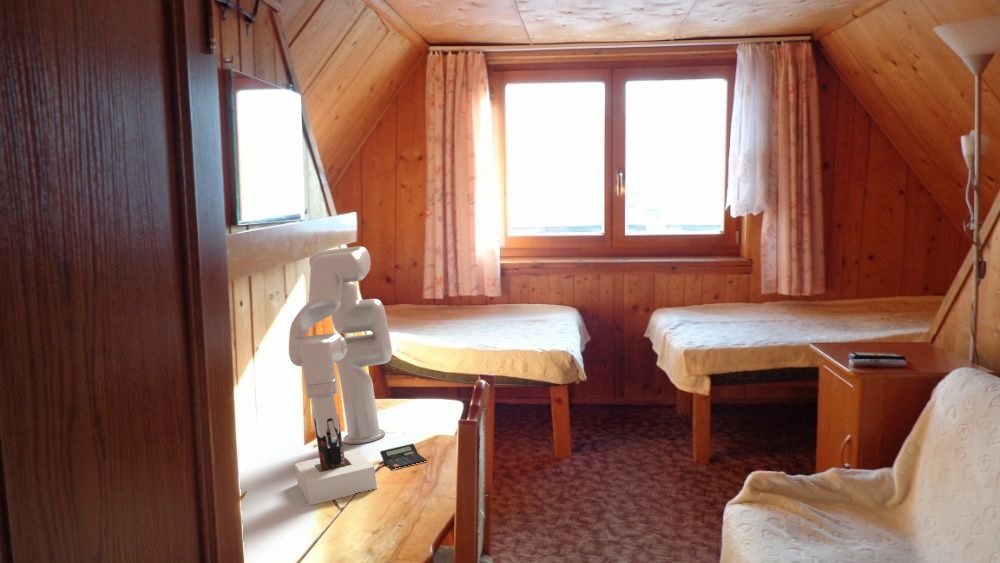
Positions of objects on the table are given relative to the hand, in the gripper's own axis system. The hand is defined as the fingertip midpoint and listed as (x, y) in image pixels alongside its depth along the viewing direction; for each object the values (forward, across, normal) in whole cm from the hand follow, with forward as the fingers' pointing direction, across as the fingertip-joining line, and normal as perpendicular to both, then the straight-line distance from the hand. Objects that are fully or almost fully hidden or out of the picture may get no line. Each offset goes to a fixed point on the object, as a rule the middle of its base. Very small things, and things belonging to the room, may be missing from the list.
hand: (332, 459), depth 193 cm
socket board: (+7, 0, 0) cm, 7 cm away
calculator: (+7, -8, +20) cm, 22 cm away
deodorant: (+5, 0, 0) cm, 5 cm away
